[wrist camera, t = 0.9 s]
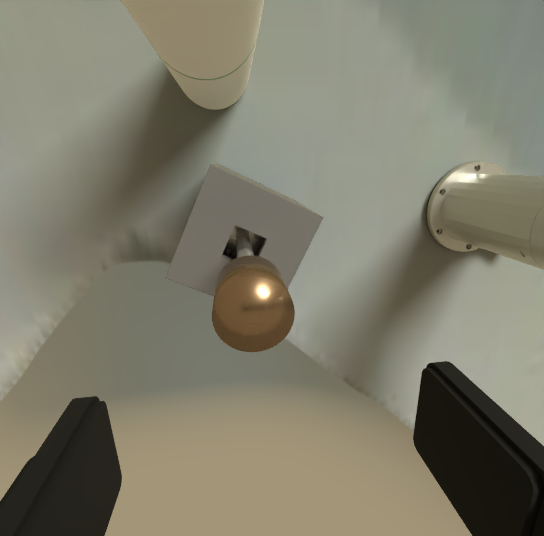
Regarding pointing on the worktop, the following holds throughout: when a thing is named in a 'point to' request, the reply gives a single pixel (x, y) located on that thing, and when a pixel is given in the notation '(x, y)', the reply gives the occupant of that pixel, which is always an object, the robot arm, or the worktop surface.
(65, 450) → the robot arm
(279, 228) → the grey box
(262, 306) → the plunger
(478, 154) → the worktop surface
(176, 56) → the container
